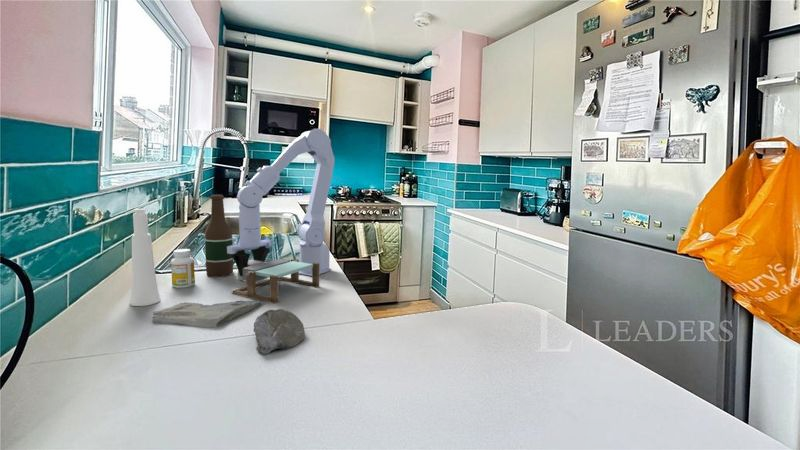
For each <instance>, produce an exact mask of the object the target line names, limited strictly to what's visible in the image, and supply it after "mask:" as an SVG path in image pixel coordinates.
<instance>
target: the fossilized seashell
mask: <svg viewBox="0 0 800 450" xmlns="http://www.w3.org/2000/svg"><path fill="white" fill-rule="evenodd" d="M252 330H253V332H254V334H255V341H256V342H257V346H256V351H258V352H259V353H261V354H263V355H268V354H270V353H271V351H274V350H276V349H278V350H280V349H281V350H288V349H287V348H289V349H292V348H294V347H296V346H297V344H298V345H299V344H300V343H302V342H303V340H304V339H305V337H306V332H305V331H306V330H305V326H304V324H303V322H302V321H301V319H300V318H299V317H298V316H297V315H296V314H294V312H291V311H289V310H287V309H283V308H277V309H268V310H265V312H263V313H262V314H260V315H258V316H256V319H255V321H254V323H253V329H252ZM291 347H292V348H291Z"/></svg>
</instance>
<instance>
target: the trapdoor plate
mask: <svg viewBox="0 0 800 450" xmlns="http://www.w3.org/2000/svg"><path fill="white" fill-rule="evenodd" d="M312 267H313V264H309V263H303V262H300V261H299V262H296V261H292V262H291V260H290V259H289V260H288V259H283V258H281V259H280V258H277V259H274V260H269V261H266V262H265V261H264V263H261V264H257V265H253V266H249V267H246V268H243V280H247V277H246V273H247V271H253V272H256V282H260V281H261V280H264V279H268V278H269V279H270V276H272V275H275V276H278V278H280V277H287V276H289V275H291V274H293V273H296V272H299V271H302V270H305V269H308V268H312ZM243 280H242V281H243Z"/></svg>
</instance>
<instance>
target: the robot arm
mask: <svg viewBox="0 0 800 450" xmlns="http://www.w3.org/2000/svg"><path fill="white" fill-rule="evenodd" d="M331 142H332V141H331V138H330V137H329V136H328V134H327V133H326V132H325V131H324V130H323V129H321V128H313V129H312V130H306V131H304V132H302V133H301V134H300V136H298V137H296V138H295V139H293V141H292V142H290V144H288V146H286V148H285V149H284V150H283V152H281V154H280V155H279V156H278V157H277V158H276V159H275V161H273V163H272V164H271V165H263V166H262V167H258V168H257V169H256V172H257V173H255V174H254V176H253V177H252V178H251V179H250V180H246V181H245V184H246V185H245V186H242V187H241V188H240V189H239V190H238V192H237V195H236V199H237V201H238V203H239V206H238V209H239V212H238V224H239V225H238V226H239V227H238V228H239V231H238V232H239V234H238V235H239V241H238V242H237V243H236V244H233V245H232V246H228V247H227V253H228V254H231V256H232V258H233V262H234V263H235V265H236V267H237V272H238V271H239V274H240V276H243V268H246V267H248V260H250V256H251V254H252V258H253V260H258V261H264V262H265V261H266V258H267V256H268V254H269V253H270V248H269V247H272V239H268V238H267V239H266V238H265V239H262V233H261V232H262V231H261V225H262V224H261V210H260V209H261V208H260V207H261V206H260V205H261V203H262V201H263V196H267V194H268V193H269V191H271V189H272V188H273V187H274V186H275V185H277V183H279V181H280V179H281V178H280V175H281V174H280V173H281V172H282V171H284V169H285V168H286V167H287V166H289V164H291V163H292V162H293V161H294V160H295V159H296V158H297V157H298V156H299V155H302V154H305V153H307V154H309V155H310V156H311V158H313V160H314V161H315V163H316V166H315V167H316V168H315V170H314V175H313V180H312V181H313V182H312V184H311V185H312V186H311V191H310V196H309V200H308V204H307V205H308V206H307V210H306V213H305V215H304V216H303V218H302V222H301V223H300V225H299V226H298V228H297V236H298V237H299V238H300V241H299V262H303V263H309V264H312V263H319V275H321V274H324V273H327V272H330V271H332V270H331V269H332V268H331V267H330V248H329V247H328V245H327V243H325V242H324V241H325V239H326V237H327V236H326V235H327V234H326V229H325V227H326V220H325V218H324V214H325V210H326V207H327V206H326V205H327V200H328V195H329V191H330V187H331V181H332V176H333V172H334V167H335V160H336V159H335V155H334V153H333V148H332V144H331ZM247 251H251V253H247ZM329 270H330V271H329ZM299 275H304V276H311V277H312V268H308V269H305V270H302V271H299Z"/></svg>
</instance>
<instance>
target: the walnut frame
mask: <svg viewBox="0 0 800 450" xmlns="http://www.w3.org/2000/svg"><path fill="white" fill-rule="evenodd" d="M292 261H296V262H300V258H297V259H290V262H292ZM312 264H313V267H312V276H311V278H312V279H311V281H309V280H308V281H307V280H304V279H300V278H299V277H300V274H299V272H296V273H293V274H290V277H287V276H283V277H280V278H278V276H275V275H272V276H270V277H269V279H268V278H267V279H266V280H263V281H258V282H257V281H256V272H253V271H247V273H246V277H247V281H246V286H243V287H240V288H235V289H234V290H232V291H231V292H232V294H233V295H237V296H240V297H245V298H251V299H254V300H257V301H262V302H263V301H264V302H268V303H271V304H277V303H279V281H285V282H288V283H294V284H300V285H306V286H311V287H314V288H315V287H316V288H318V287H320V274H319V263H312ZM268 284H269V294H270V295H269V296H267V295H262V294H258V293H257V288H259V287H262V286H265V285H268Z"/></svg>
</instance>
